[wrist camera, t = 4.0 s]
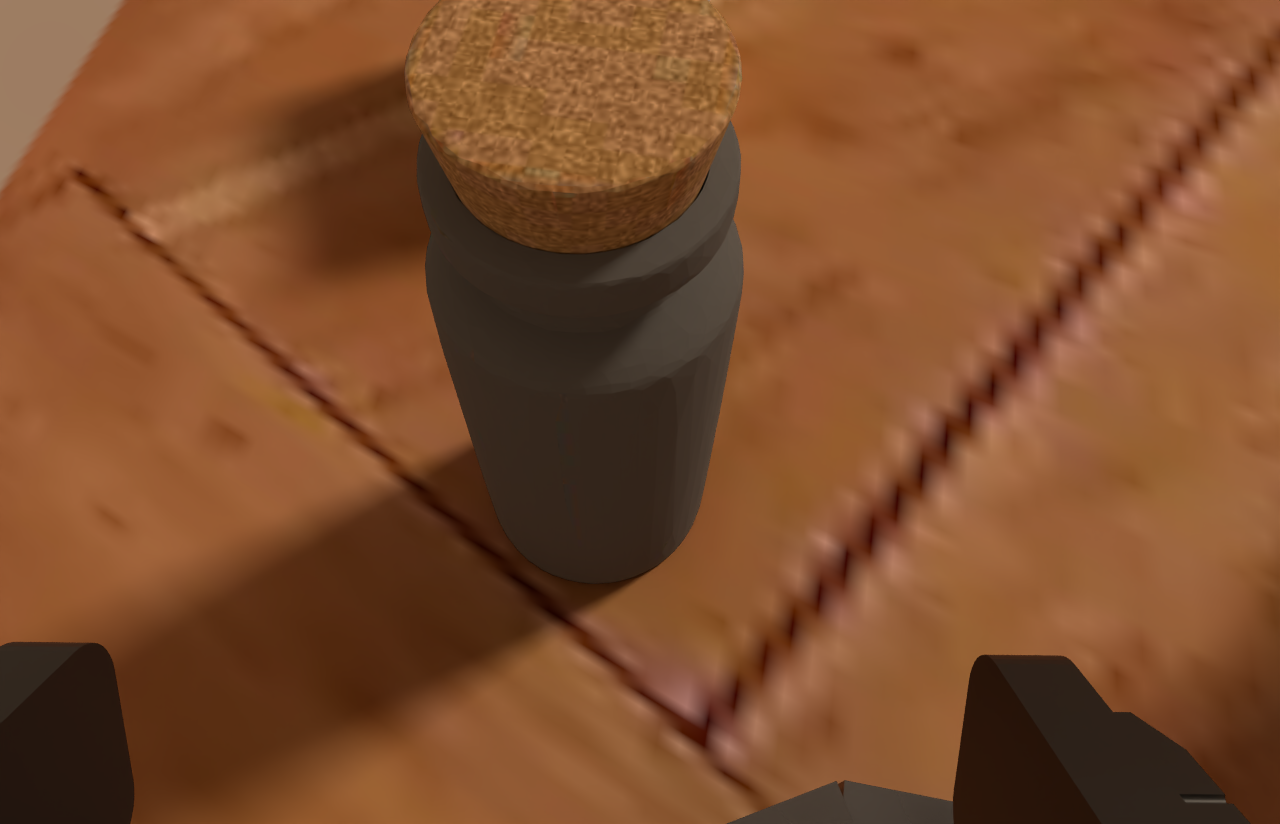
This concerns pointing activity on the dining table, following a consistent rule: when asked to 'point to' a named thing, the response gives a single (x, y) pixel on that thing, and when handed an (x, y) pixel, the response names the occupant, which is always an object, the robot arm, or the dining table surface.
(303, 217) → the dining table surface
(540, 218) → the bottle
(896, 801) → the collar
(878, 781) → the dining table surface
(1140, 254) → the dining table surface
